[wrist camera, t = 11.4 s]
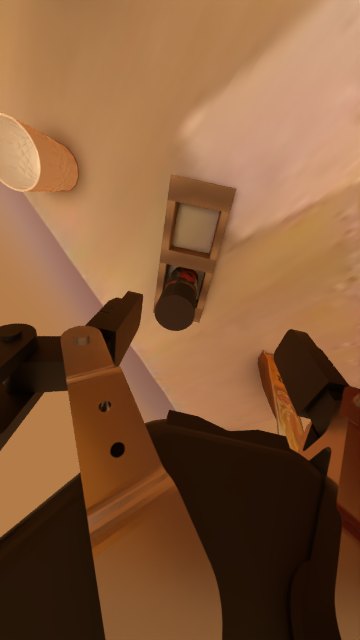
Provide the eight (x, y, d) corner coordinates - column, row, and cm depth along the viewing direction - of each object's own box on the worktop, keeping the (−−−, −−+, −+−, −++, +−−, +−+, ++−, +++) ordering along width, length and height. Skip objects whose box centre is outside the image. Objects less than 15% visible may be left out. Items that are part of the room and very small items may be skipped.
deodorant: (164, 276, 41) (146, 308, 29) (187, 259, 39) (178, 287, 26) (181, 297, 44) (171, 336, 31) (203, 283, 41) (202, 318, 28)
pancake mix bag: (269, 399, 56) (315, 542, 32) (243, 352, 49) (279, 492, 25) (293, 393, 54) (363, 542, 30) (271, 342, 47) (339, 488, 23)
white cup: (60, 203, 37) (16, 203, 28) (27, 156, 34) (-34, 139, 25) (91, 178, 34) (52, 170, 26) (59, 125, 31) (2, 94, 22)
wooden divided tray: (174, 177, 33) (170, 174, 29) (233, 190, 33) (236, 188, 29) (157, 304, 45) (153, 312, 42) (199, 313, 45) (199, 322, 42)
